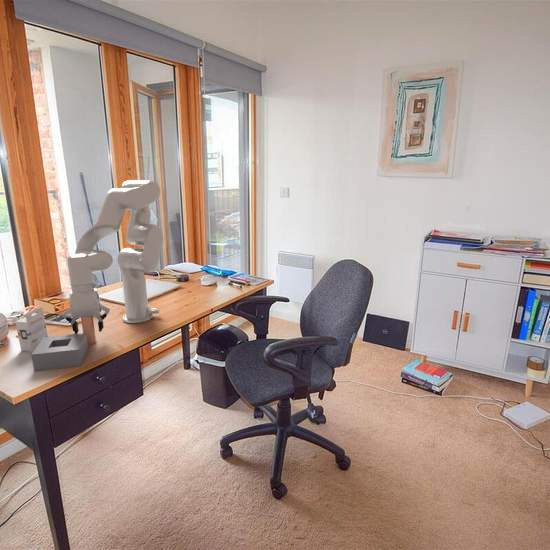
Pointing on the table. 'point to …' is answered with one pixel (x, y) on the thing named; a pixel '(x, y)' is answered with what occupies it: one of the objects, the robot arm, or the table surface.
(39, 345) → the socket block
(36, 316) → the ink box
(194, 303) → the table surface
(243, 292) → the table surface
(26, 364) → the table surface
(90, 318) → the peg
